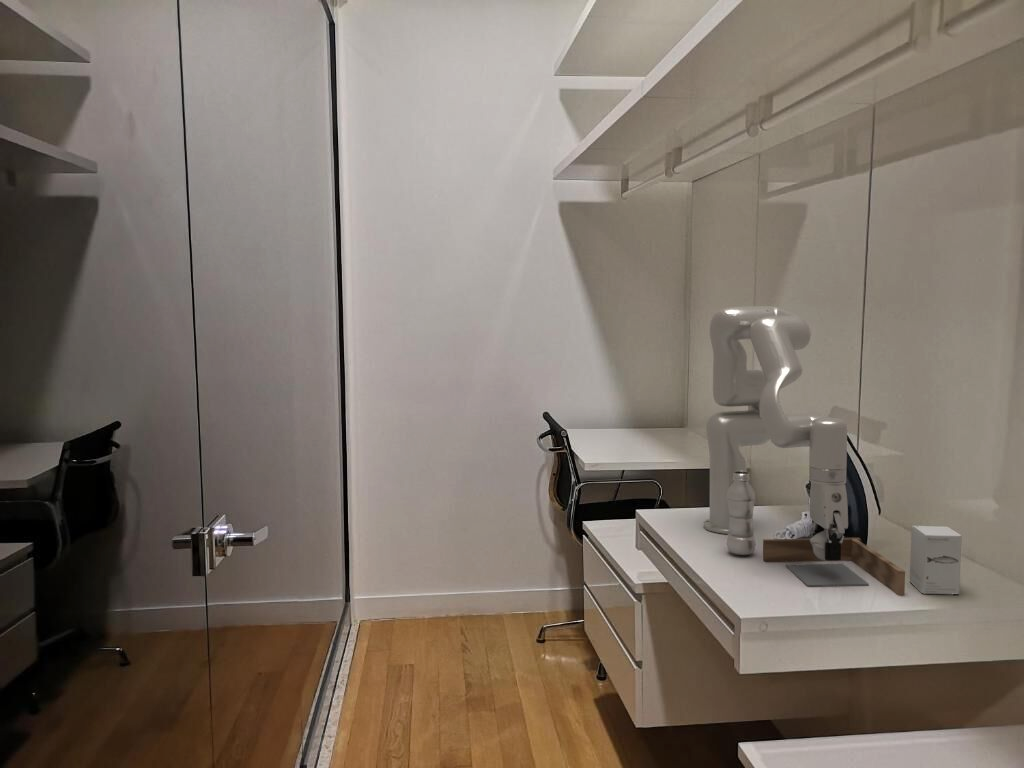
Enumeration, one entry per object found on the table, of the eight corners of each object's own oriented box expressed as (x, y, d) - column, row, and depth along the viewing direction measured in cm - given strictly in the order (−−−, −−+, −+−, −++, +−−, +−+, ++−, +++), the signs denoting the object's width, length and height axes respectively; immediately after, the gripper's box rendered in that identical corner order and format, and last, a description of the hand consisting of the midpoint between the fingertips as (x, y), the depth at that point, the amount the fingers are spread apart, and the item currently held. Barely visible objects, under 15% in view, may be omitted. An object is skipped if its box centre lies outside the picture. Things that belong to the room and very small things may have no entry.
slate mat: (785, 566, 177) (785, 564, 177) (842, 565, 177) (842, 563, 177) (807, 586, 164) (807, 585, 164) (868, 585, 164) (868, 583, 164)
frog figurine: (847, 564, 167) (847, 533, 166) (813, 564, 167) (813, 532, 167) (838, 555, 173) (839, 525, 172) (806, 555, 173) (806, 525, 173)
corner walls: (763, 560, 182) (763, 539, 181) (858, 558, 182) (858, 537, 181) (800, 597, 158) (800, 573, 158) (909, 594, 158) (910, 571, 158)
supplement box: (921, 594, 158) (923, 534, 157) (908, 582, 166) (910, 524, 164) (960, 596, 157) (962, 535, 156) (945, 583, 165) (947, 525, 163)
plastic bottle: (756, 559, 183) (757, 475, 181) (727, 557, 184) (727, 475, 182) (754, 550, 189) (754, 470, 187) (725, 549, 190) (725, 469, 188)
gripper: (862, 483, 160) (861, 567, 161) (828, 466, 177) (827, 543, 179) (826, 483, 160) (825, 568, 161) (795, 467, 177) (794, 544, 179)
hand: (826, 554), depth 170 cm, fingers closed on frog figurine, 6 cm apart
